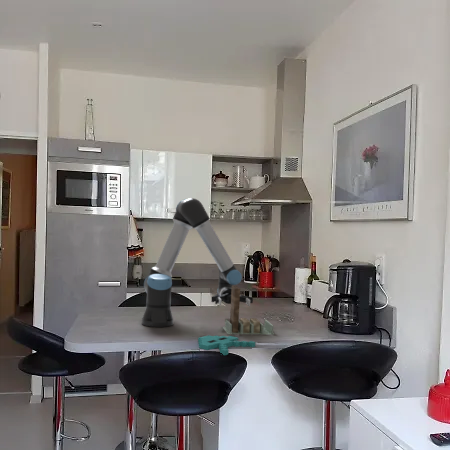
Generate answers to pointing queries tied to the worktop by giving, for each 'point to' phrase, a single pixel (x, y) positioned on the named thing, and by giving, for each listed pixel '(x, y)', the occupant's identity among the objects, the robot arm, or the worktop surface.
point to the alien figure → (222, 343)
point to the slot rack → (264, 329)
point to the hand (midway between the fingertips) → (235, 302)
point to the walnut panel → (235, 308)
